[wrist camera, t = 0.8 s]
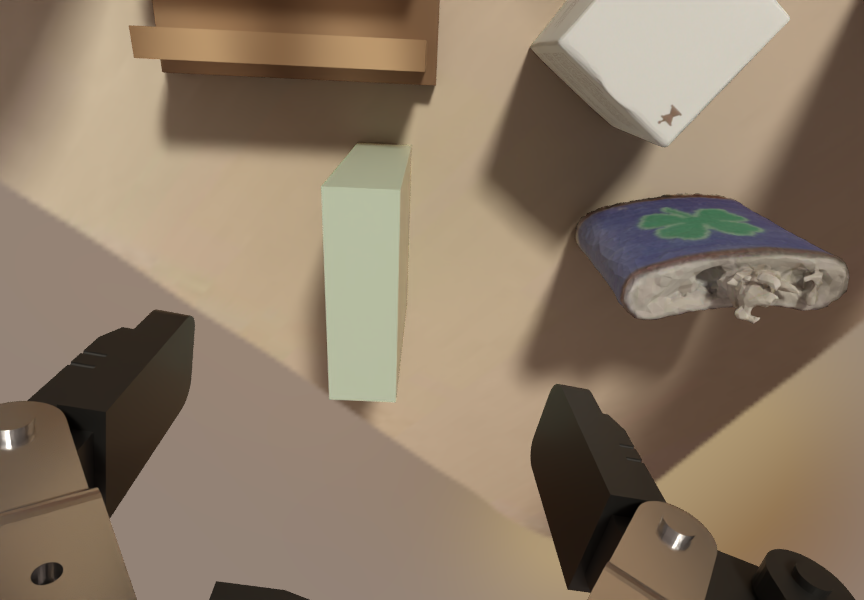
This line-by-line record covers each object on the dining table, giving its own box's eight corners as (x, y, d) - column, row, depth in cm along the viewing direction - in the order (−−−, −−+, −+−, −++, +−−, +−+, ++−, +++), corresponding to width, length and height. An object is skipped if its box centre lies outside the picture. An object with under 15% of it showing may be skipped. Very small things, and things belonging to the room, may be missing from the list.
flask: (572, 253, 31) (636, 346, 21) (573, 202, 30) (641, 275, 20) (740, 240, 31) (883, 328, 21) (748, 187, 30) (903, 255, 20)
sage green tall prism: (411, 145, 29) (400, 189, 20) (407, 303, 32) (396, 402, 23) (357, 142, 29) (321, 186, 20) (359, 301, 32) (329, 399, 23)
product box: (706, 28, 27) (798, 20, 20) (611, 130, 28) (665, 154, 22) (619, -70, 25) (686, -114, 18) (524, 45, 27) (554, 44, 20)
